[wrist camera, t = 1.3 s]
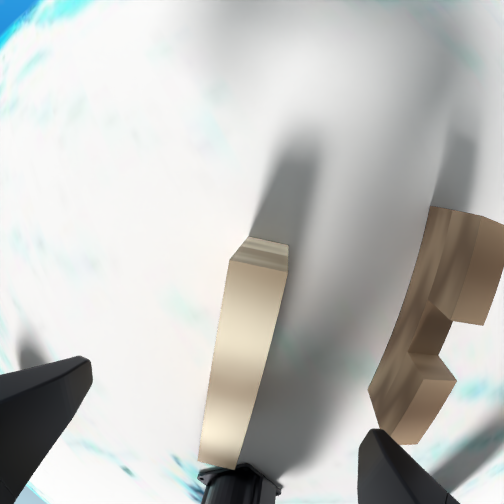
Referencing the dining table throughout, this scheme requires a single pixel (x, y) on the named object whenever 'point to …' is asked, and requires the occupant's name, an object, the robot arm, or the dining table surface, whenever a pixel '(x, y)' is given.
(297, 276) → the dining table surface
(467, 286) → the walnut board
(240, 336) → the beech board
